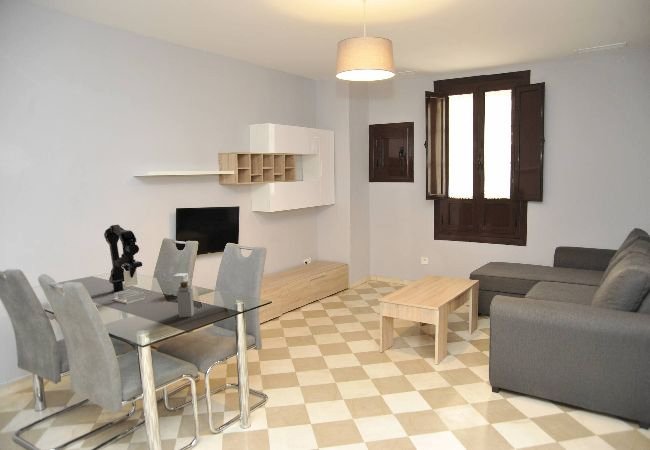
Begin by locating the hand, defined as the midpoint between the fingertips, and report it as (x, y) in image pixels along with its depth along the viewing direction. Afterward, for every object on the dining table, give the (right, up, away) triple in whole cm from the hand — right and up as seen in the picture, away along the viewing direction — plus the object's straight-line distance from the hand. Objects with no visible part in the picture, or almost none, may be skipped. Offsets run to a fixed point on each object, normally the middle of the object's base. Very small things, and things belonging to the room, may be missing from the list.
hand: (130, 277), depth 299 cm
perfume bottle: (+43, -17, -33) cm, 57 cm away
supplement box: (+29, -12, +7) cm, 32 cm away
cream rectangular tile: (0, -5, +1) cm, 5 cm away
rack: (-1, -13, 0) cm, 13 cm away
